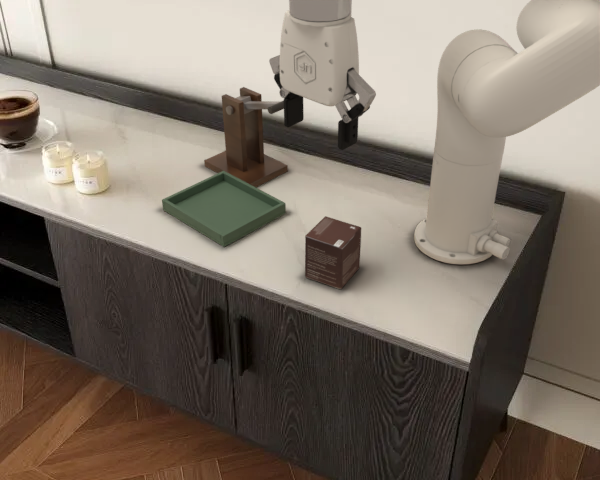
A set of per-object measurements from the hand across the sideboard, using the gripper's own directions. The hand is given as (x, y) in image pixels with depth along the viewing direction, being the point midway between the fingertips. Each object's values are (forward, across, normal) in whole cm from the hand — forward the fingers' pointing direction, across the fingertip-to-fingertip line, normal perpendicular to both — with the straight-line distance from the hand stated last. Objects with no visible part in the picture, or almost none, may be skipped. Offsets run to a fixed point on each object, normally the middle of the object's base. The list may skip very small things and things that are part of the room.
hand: (320, 134), depth 102 cm
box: (+20, +5, -2) cm, 20 cm away
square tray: (+20, -19, -2) cm, 28 cm away
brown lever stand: (+20, -27, +10) cm, 35 cm away
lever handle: (+7, -22, +10) cm, 26 cm away
